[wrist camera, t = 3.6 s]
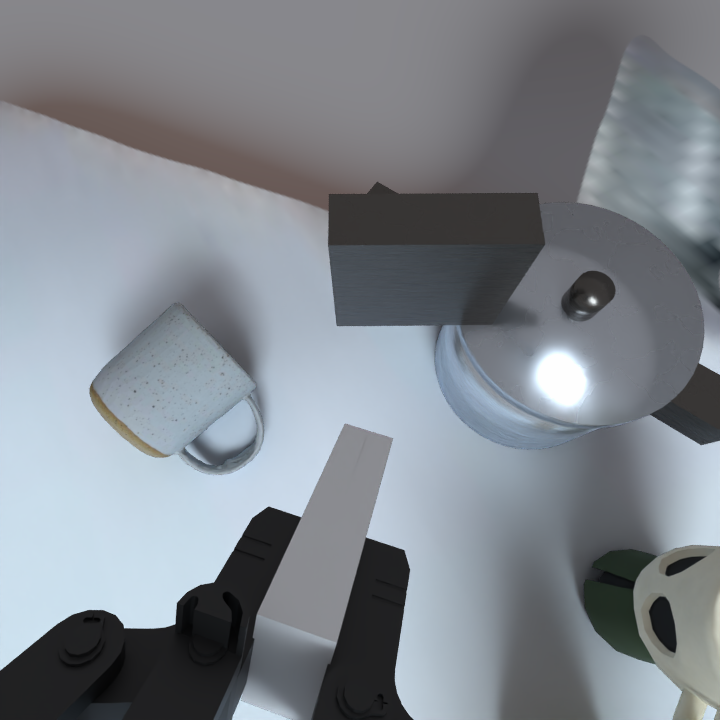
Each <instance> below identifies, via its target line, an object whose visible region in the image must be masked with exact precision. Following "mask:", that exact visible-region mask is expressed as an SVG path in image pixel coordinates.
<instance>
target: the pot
mask: <svg viewBox="0 0 720 720" xmlns="http://www.w3.org/2000/svg"><path fill="white" fill-rule="evenodd" d="M367 194H398V193H396V192H394V191H392V190H391V189H389V188H387V187H385V186H383V185H382V184H380V183H378V182H377V183H376V184H375V185H374V186H373V187H372V189H371V190H370V191H369V192H368V193H367ZM435 366H436V374H437V378H438V382H439V385H440V388H441V390H442V393H443V395H444V397H445V398H446V400H447V402H448V404H449V405H450V407H451V408H452V410H453V411H454V412H455V413H456V415H457V416H458V417H459V418H460V419H461V420H462V421H463V422H464V423H465V424H466V425H467V426H469V427H470V428H471V429H472V430H474V431H475V432H477V433H478V434H480V435H481V436H483V437H485V438H487V439H489V440H491V441H493V442H495V443H498V444H501V445H504V446H508V447H512V448H517V449H527V450H529V449H544V448H550V447H553V446H557V445H560V444H563V443H565V442H568V441H570V440H573V439H575V438H577V437H580V436H582V435H585V434H587V433H590V432H592V431H595V430H597V429H583V428H572V427H566V426H561V425H556V424H553V423H550V422H547V421H544V420H541V419H538V418H536V417H534V416H532V415H529V414H527V413H525V412H523V411H522V410H520V409H518V408H517V407H515V406H513V405H512V404H510V403H509V402H508V401H506V400H505V399H504V398H502V397H501V396H500V395H499V394H497V393H496V392H495V391H494V390H493V389H492V388H491V387H490V386H489V385H488V384H487V383H486V382H485V381H484V380H483V378H482V377H481V376H480V374H479V373H478V372H477V371H476V369H475V368H474V366H473V365H472V363H471V361H470V360H469V358H468V357H467V355H466V353H465V350H464V348H463V346H462V344H461V341H460V338H459V335H458V331H457V328H456V325H443V326H442V329H441V331H440V334H439V337H438V340H437V345H436V351H435ZM650 415H652V416H653V417H655V418H657V419H658V420H660V421H662V422H663V423H665V424H667V425H668V426H670V427H672V428H673V429H675V430H677V431H678V432H680V433H682V434H683V435H685V436H687V437H688V438H690V439H692V440H694V441H695V442H697V443H699V444H700V445H704V444H708V443H712V442H716V441H720V375H719V374H717V373H715V372H713V371H712V370H710V369H708V368H706V367H705V366H703V365H701V364H699V363H698V365H697V367H696V370H695V372H694V374H693V376H692V377H691V379H690V380H689V382H688V383H687V385H686V386H685V388H684V389H683V390H682V391H681V392H680V393H679V394H678V395H677V396H676V397H675V398H674V399H673V400H671V401H670V402H669V403H668V404H666V405H665V406H664V407H662V408H660V409H659V410H657V411H655V412H653V413H651V414H650ZM598 429H600V428H598Z"/></svg>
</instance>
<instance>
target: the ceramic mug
mask: <svg viewBox="0 0 720 720" xmlns="http://www.w3.org/2000/svg"><path fill="white" fill-rule="evenodd" d="M255 388H256V383H255V381H254V380H253V379H252V378H251V377H250V376H249V374H248V373H247V372H246V371H245V370H244V369H243V368H242V367H241V366H240V365H239V364H238V363H237V362H236V361H235V360H234V359H233V358H232V357H231V356H230V354H229V353H228V352H227V351H225V349H224V348H223V347H222V346H221V345H220V344H219V343H218V342H217V341H216V340H215V339H214V338H213V337H212V335H210V334H209V333H208V332H207V331H206V330H205V329H204V328H203V327H202V325H201V324H199V322H198V321H197V320H196V319H195V318H194V317H193V316H192V315H191V314H190V313H189V312H188V311H187V310H186V308H185V307H184V306H183V305H182V304H180V303H175V304H173V305H172V306H170V307H169V308H168V309H167V310H166V311H165V312H164V313H163V314H162V315H161V316H160V317H159V318H157V319H156V320H155V321H154V322H153V323H152V324H151V325H150V326H149V327H147V328H146V329H145V330H144V331H143V332H142V333H141V334H140V335H138V336H137V337H136V338H135V339H134V340H133V341H132V342H131V343H130V344H129V345H128V346H127V347H126V348H124V349H123V350H122V351H121V352H120V353H119V354H118V355H116V356H115V357H114V358H113V359H112V360H111V361H110V362H109V363H108V364H107V365H106V366H105V367H104V368H103V369H102V370H101V371H100V372H99V374H98V375H97V376H96V378H95V379H94V380H93V382H92V384H91V386H90V397H91V400H92V402H93V404H94V406H95V408H96V409H97V410H98V412H99V413H100V414H101V416H102V417H103V418H104V419H105V420H106V421H107V422H108V423H109V424H110V426H111V427H112V428H114V429H115V430H116V431H117V432H118V433H119V434H120V435H121V436H122V437H123V438H124V439H126V440H127V441H128V442H129V443H131V444H132V445H133V446H135V447H136V448H137V449H139V450H140V451H142V452H144V453H145V454H147V455H150V456H153V457H160V458H164V457H168V456H171V455H173V454H177V455H179V456H180V457H181V459H182V460H183V461H185V462H186V464H188V465H190V466H191V467H193V468H194V469H195V470H198V471H200V472H203V473H205V474H209V475H224V474H229V473H233V472H234V471H237V470H239V469H240V468H242V467H244V466H245V465H246V464H248V463H249V462H250V461H252V460H253V458H254V457H255V456H256V455H257V454H258V452H259V451H260V448H261V445H262V443H263V437H264V425H263V420H262V416H261V414H260V411H259V409H258V407H257V405H256V404H255V402H254V400H253V399H252V397H251V395H250V393H251V392H252V391H253V390H254V389H255ZM241 400H246V401H247V402H248V403H249V405H250V407H251V409H252V411H253V413H254V416H255V419H256V422H257V436H256V439H255V441H254V443H253V444H252V445H250V446H249V447H248V448H246V449H245V450H244V451H243V452H241V453H240V454H239V455H237V456H235V457H234V458H232V459H227V460H226V461H225V462H224V464H222V465H219V466H215V465H208V464H205V463H203V462H202V461H200V460H198V459H196V458H195V457H194V456H192V455H191V454H190V453H189V452H188V451H187V450H186V449H185V447H186V446H187V445H188V444H189V443H191V442H192V441H193V440H194V439H195V438H197V437H198V436H199V435H200V434H201V433H203V432H204V431H205V430H207V428H208V427H209V426H210V425H211V424H212V423H214V422H215V421H216V420H217V419H219V418H220V417H221V416H223V415H224V414H225V413H227V412H228V411H229V410H230V409H232V408H233V407H234V406H235V405H236V404H237V403H239V402H240V401H241Z"/></svg>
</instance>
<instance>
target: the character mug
mask: <svg viewBox="0 0 720 720" xmlns="http://www.w3.org/2000/svg"><path fill="white" fill-rule="evenodd" d="M592 567H594V568H597V569H600V570H603V571H605V572H604V573H603V574H602V575H601V576H600V578H599V582H596V581H591V580H586V581H585V583H584V599H585V609H586V611H587V613H588V615H589V618H590V620H591V622H592V624H593V627H594V629H595V631H596V632H597V633H598V634H599V635H600V636H601V637H602V638H603V639H604V640H605V641H606V642H607V643H609V644H610V645H611V646H612V647H613V648H614V649H615V650H616V651H618V652H621V653H623V654H626V655H628V656H631V657H634V658H636V659H639V660H642V661H646V662H649V663H653V664H656V665H657V667H658V668H659V669H660V670H661V671H662V672H663V673H664V674H665V675H666V676H667V677H668V678H669V679H670V680H671V681H672V682H673V683H674V684H675V685H676V686H677V687H678V688H679V689H680V690H681V691H682V694H681V697H680V699H679V702H678V705H677V707H676V710H675V713H674V716H673V720H702V718H703V716H704V713H705V710H706V707H707V705H709V706H711V707H713V708H715V709H717V712H716V715H715V718H714V720H720V546H702V545H689V546H685V547H682V548H675V549H673V550H671V551H669V552H666V553H664V554H662V555H660V556H658V557H657V556H654V555H652V554H649V553H645V552H641V551H636V550H632V549H628V550H618V551H610V552H608V553H607V554H605V555H604V556H602V557H601V558H599V559H598V560H596V561H595V562H594V563H593V566H592Z"/></svg>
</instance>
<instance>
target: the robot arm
mask: <svg viewBox="0 0 720 720" xmlns="http://www.w3.org/2000/svg"><path fill="white" fill-rule="evenodd" d="M392 440H393V438H390V437H387V436H384V435H380V434H377V433H374V432H371V431H367V430H364V429H361V428H358V427H354V426H351V425H348V424H344V427H343V429H342V431H341V433H340V435H339V437H338V440H337V442H336V444H335V446H334V448H333V450H332V453H331V455H330V457H329V459H328V461H327V463H326V466H325V468H324V470H323V472H322V474H321V476H320V479H319V481H318V483H317V485H316V487H315V489H314V492H313V494H312V496H311V498H310V500H309V502H308V505H307V507H306V509H305V511H304V513H303V515H302V518H301V517H298V516H295V515H292V514H289V513H286V512H283V511H280V510H277V509H274V508H271V507H267V508H266V509H264V510H263V511H262V512H260V513H259V514H258V515H256V516H255V517H253V518H252V520H251V521H250V523H249V525H248V526H247V528H246V530H245V531H244V533H243V535H242V538H240V540H239V542H238V543H237V545H236V547H235V548H234V551H233V552H232V553H231V555H230V557H229V559H228V560H227V562H226V564H225V565H224V567H223V569H222V570H221V572H220V574H219V575H218V577H217V579H216V580H215V582H214V583H210V584H204V585H200V586H198V587H196V588H194V589H192V590H190V591H188V592H187V593H186V594H185V595H184V596H183V597H182V598H181V599H180V600H179V601H178V603H177V610H176V624H175V625H172V626H169V627H166V628H156V629H130V628H124V626H123V624H122V623H121V621H120V620H119V619H118V618H117V616H116V615H113V614H111V613H109V612H106V611H104V610H87V611H84V612H80V613H77V614H74V615H71V616H70V617H68V618H66V619H65V620H63V621H62V622H60V623H58V624H57V625H56V626H54V627H53V628H52V629H51V630H50V631H48V632H47V633H46V634H45V635H43V636H42V637H41V638H40V639H39V640H37V641H36V642H35V643H34V644H32V645H31V646H30V647H29V648H28V649H26V650H25V651H24V652H23V653H21V654H20V655H19V656H18V657H17V658H15V659H14V660H13V661H12V662H10V663H9V664H8V665H7V666H6V667H4V668H3V669H2V670H1V671H0V720H232V716H233V714H234V712H235V709H236V707H237V704H238V702H239V700H240V697H241V695H242V698H241V701H244V702H246V703H249V704H251V705H254V706H257V707H259V708H262V709H265V710H267V711H270V712H273V713H275V714H278V715H281V716H283V717H286V718H289V719H291V720H413V719H412V718H411V717H410V716H409V714H408V713H407V712H406V710H405V709H404V707H403V706H402V704H401V701H400V699H399V697H398V694H397V691H396V686H395V666H396V660H397V653H398V646H399V640H400V633H401V626H402V620H403V613H404V606H405V600H406V591H407V586H408V580H409V573H410V568H409V565H408V561H407V558H406V555H405V551H404V550H402V549H399V548H396V547H393V546H390V545H387V544H384V543H381V542H378V541H375V540H372V539H369V538H366V535H367V531H368V528H369V524H370V520H371V517H372V513H373V509H374V506H375V502H376V499H377V495H378V491H379V488H380V484H381V480H382V477H383V473H384V469H385V466H386V462H387V458H388V455H389V451H390V448H391V444H392Z"/></svg>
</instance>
